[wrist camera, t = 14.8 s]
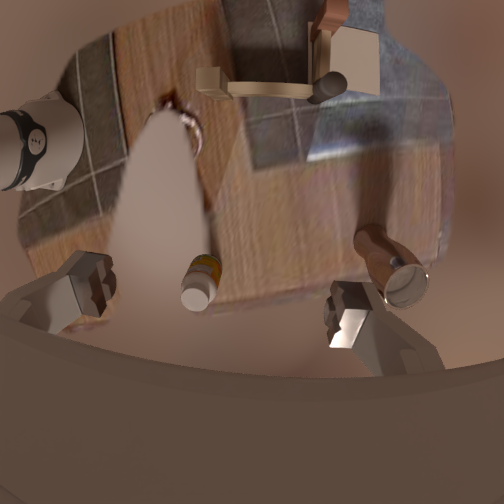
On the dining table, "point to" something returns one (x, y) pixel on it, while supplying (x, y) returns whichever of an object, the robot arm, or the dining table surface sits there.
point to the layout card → (352, 58)
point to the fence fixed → (268, 87)
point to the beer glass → (391, 267)
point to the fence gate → (326, 34)
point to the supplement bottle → (201, 282)
